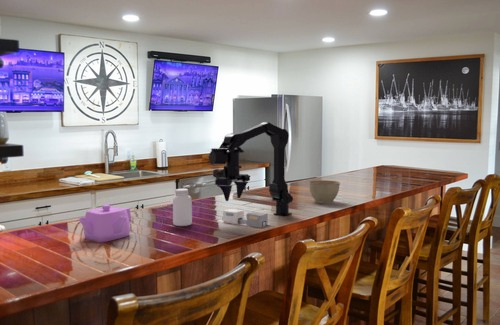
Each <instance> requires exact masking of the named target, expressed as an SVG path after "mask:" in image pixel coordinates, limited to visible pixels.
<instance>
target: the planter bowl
mask: <svg viewBox="0 0 500 325" xmlns="http://www.w3.org/2000/svg"><path fill="white" fill-rule="evenodd" d="M340 184H341V182H340V181H336V180H324V179H323V180H319V179H318V180H309V181H308V185H309V192H310V194H311V197H312V198H313V199H314V202H315V203H317V204H333V203H334V200H335V199H336V197H337V195H338V193H339V191H340ZM332 202H333V203H332Z"/></svg>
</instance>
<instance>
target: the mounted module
mask: <svg viewBox="0 0 500 325" xmlns="http://www.w3.org/2000/svg"><path fill="white" fill-rule="evenodd" d="M268 215H269V214H268V213H266V212H260V211H259V212H258V211H252V212H248V213H246V218H245V219H247V225H252V226H259V227H260V228H262V227H261V226H262V222H263V221H264V222H265V225H266V226H268V225H267V224H269V223H268V220H269V219H268V218H269V217H268ZM252 226H251V227H252ZM259 227H258V228H259Z"/></svg>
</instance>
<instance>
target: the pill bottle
mask: <svg viewBox="0 0 500 325" xmlns="http://www.w3.org/2000/svg"><path fill="white" fill-rule="evenodd" d="M192 204H193V203H192V196H190V195H189V189H188V188H176V189H175V195H174V196H173V197H172V223H173V226H177V227H186V226H191V225H192V224H193V205H192Z"/></svg>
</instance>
